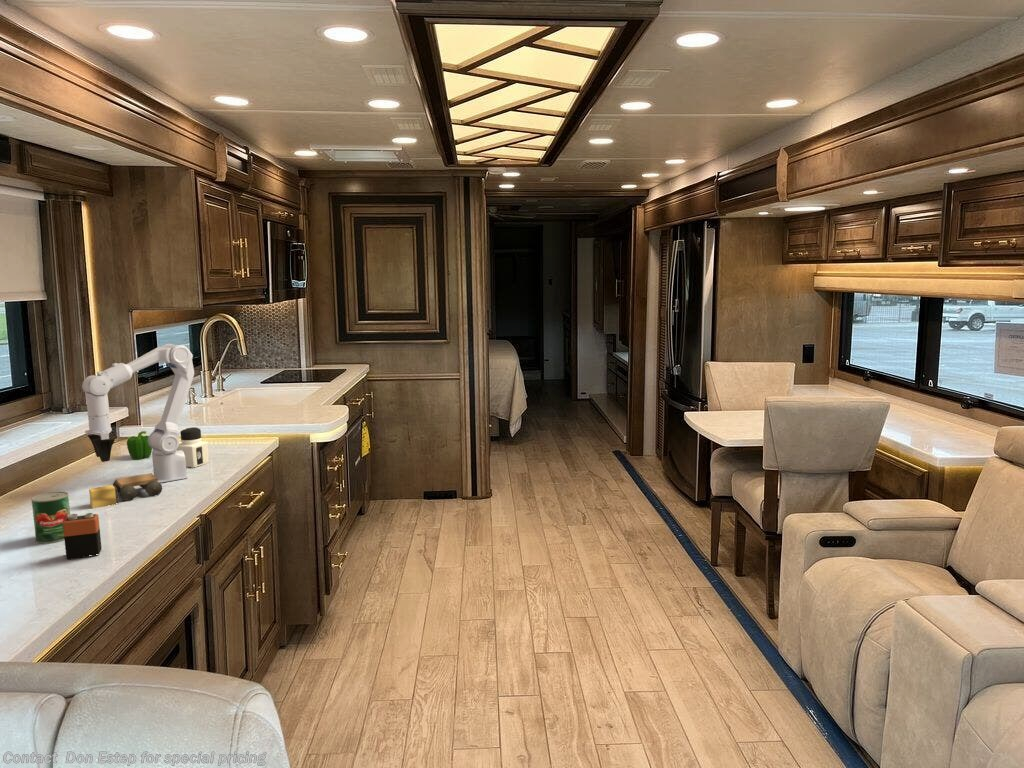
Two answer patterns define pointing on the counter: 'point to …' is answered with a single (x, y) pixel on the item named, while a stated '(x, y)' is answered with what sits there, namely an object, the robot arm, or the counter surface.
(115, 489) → the block
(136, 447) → the bell pepper
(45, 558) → the counter surface
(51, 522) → the canned tomato
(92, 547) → the battery
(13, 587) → the counter surface
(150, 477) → the trolley
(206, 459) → the container
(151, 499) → the counter surface
